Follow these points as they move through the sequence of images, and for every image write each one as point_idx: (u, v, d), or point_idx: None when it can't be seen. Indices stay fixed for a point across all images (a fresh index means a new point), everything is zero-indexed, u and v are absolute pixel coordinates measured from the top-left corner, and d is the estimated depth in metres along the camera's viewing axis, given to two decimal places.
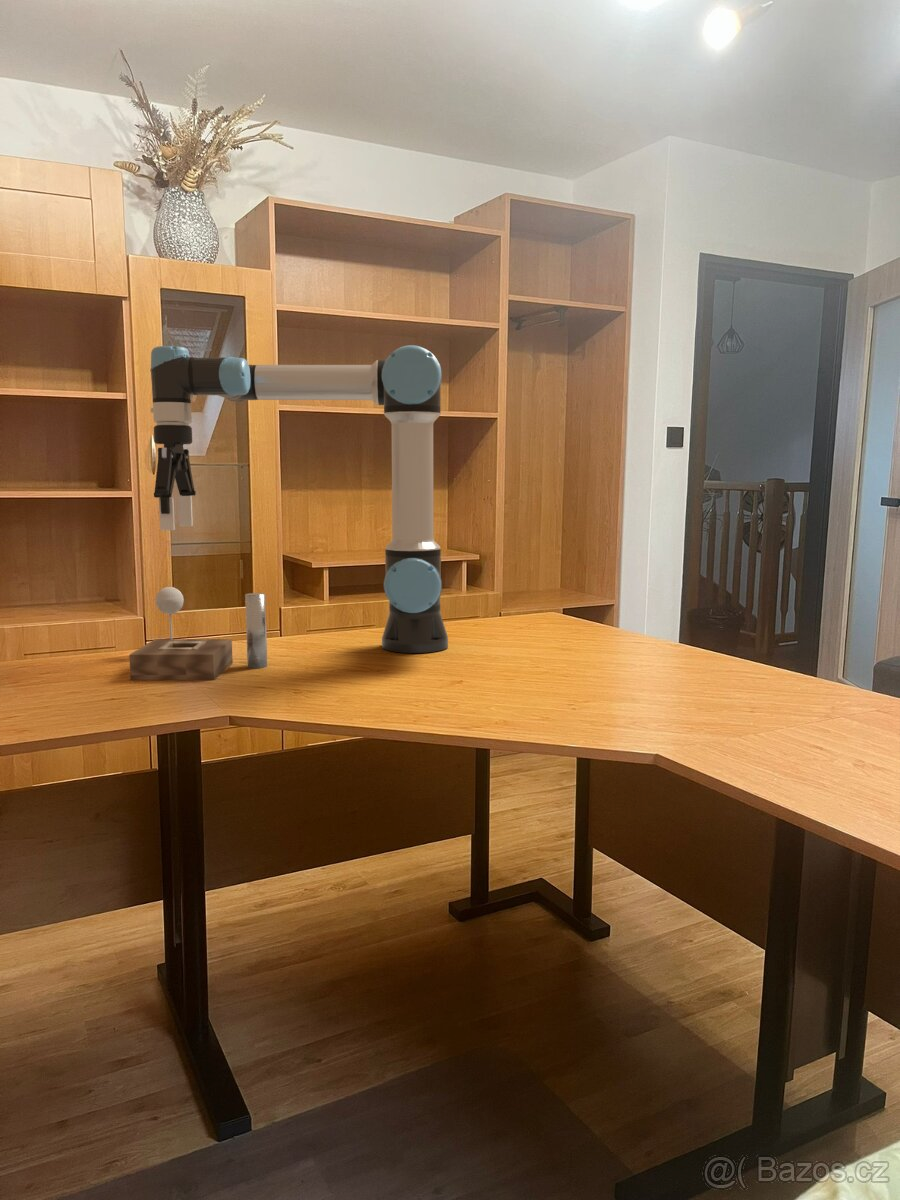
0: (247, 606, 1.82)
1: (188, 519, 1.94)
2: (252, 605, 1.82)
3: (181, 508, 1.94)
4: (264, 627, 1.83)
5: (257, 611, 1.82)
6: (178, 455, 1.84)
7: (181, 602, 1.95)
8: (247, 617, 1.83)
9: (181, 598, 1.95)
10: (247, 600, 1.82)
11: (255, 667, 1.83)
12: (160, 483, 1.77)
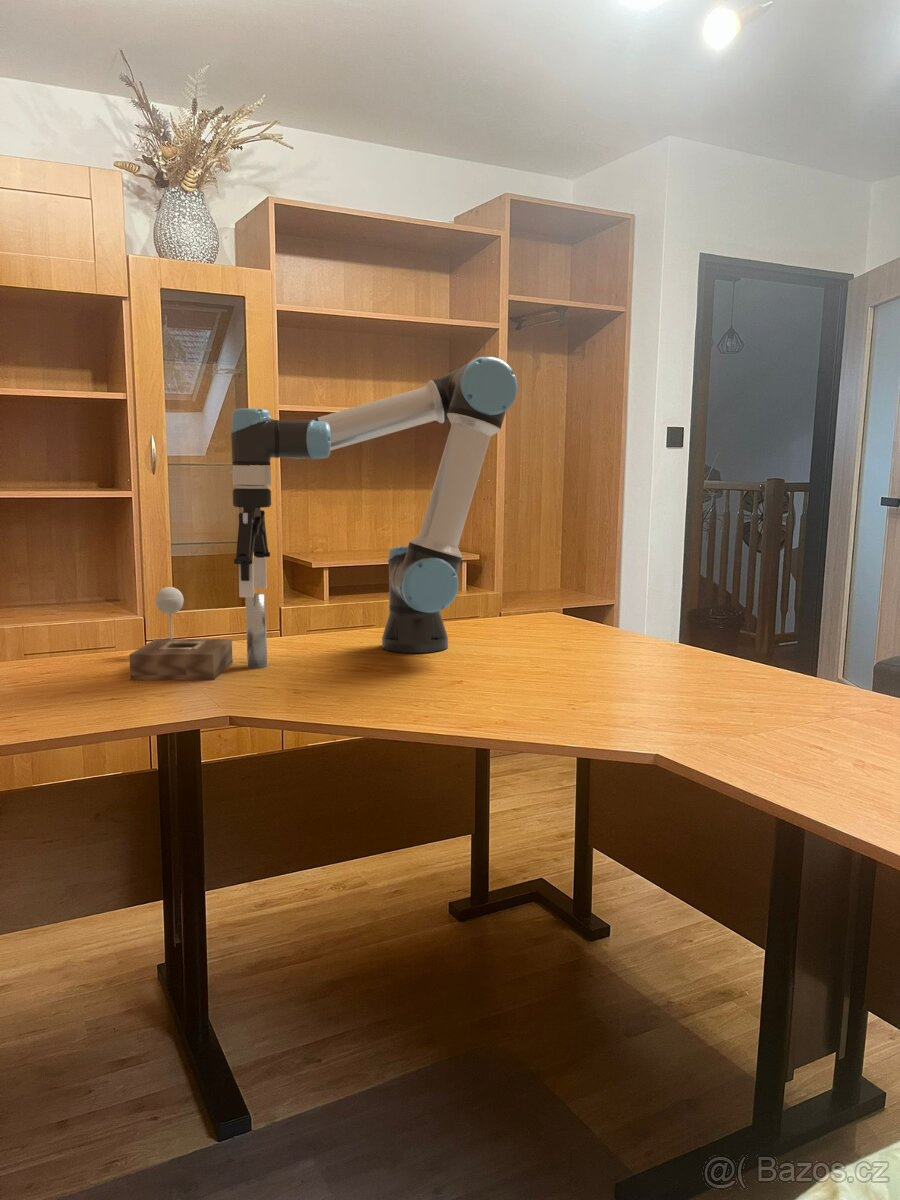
0: (247, 606, 1.82)
1: (262, 581, 1.89)
2: (252, 605, 1.82)
3: (256, 570, 1.89)
4: (264, 627, 1.83)
5: (257, 611, 1.82)
6: (257, 519, 1.79)
7: (181, 602, 1.95)
8: (247, 617, 1.83)
9: (181, 598, 1.95)
10: (247, 600, 1.82)
11: (255, 667, 1.83)
12: (241, 550, 1.72)
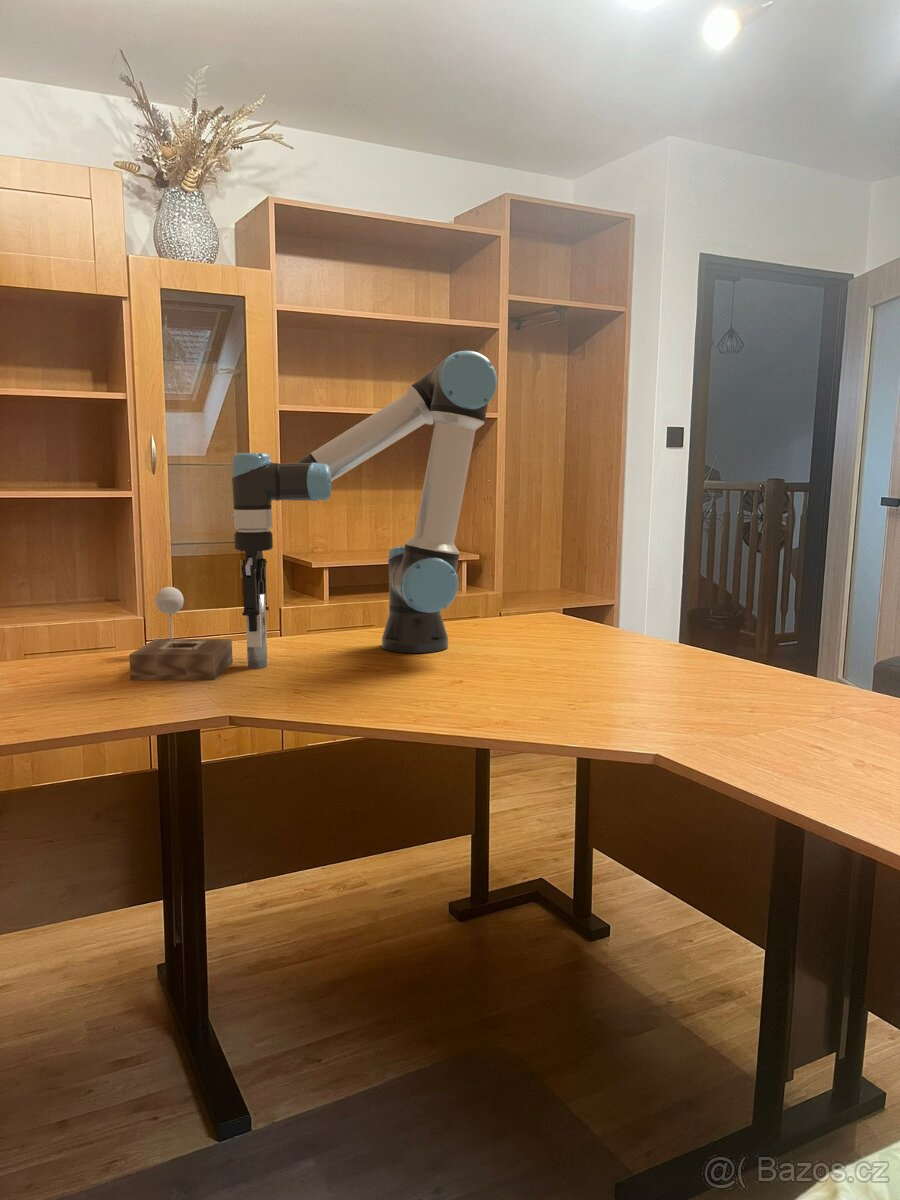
0: None
1: None
2: None
3: None
4: (264, 627, 1.83)
5: None
6: (259, 564, 1.80)
7: (181, 602, 1.95)
8: None
9: (181, 598, 1.95)
10: None
11: (255, 667, 1.83)
12: (248, 604, 1.78)
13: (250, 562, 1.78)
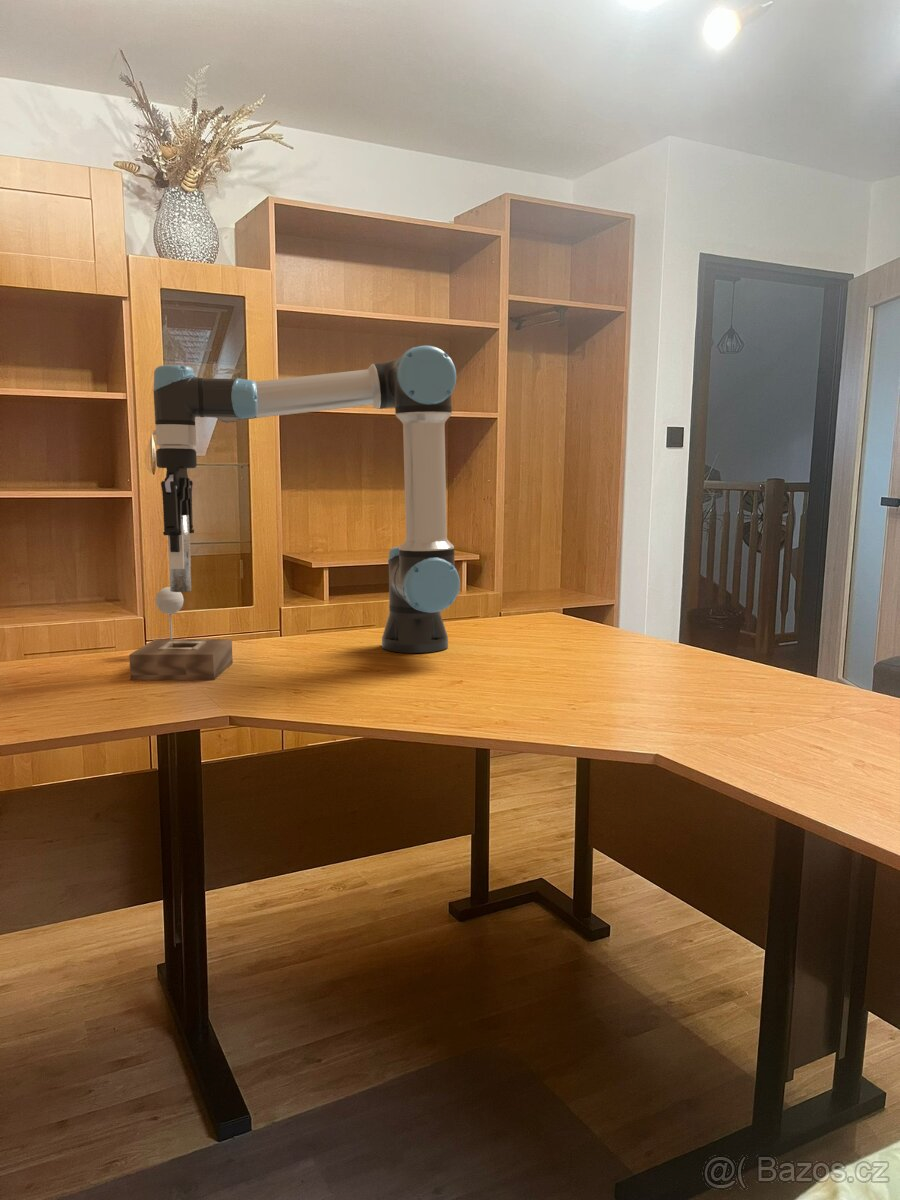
0: None
1: None
2: None
3: None
4: (187, 549, 1.77)
5: None
6: (181, 482, 1.74)
7: (181, 602, 1.95)
8: None
9: (181, 598, 1.95)
10: None
11: (177, 591, 1.77)
12: (169, 522, 1.71)
13: (171, 479, 1.71)
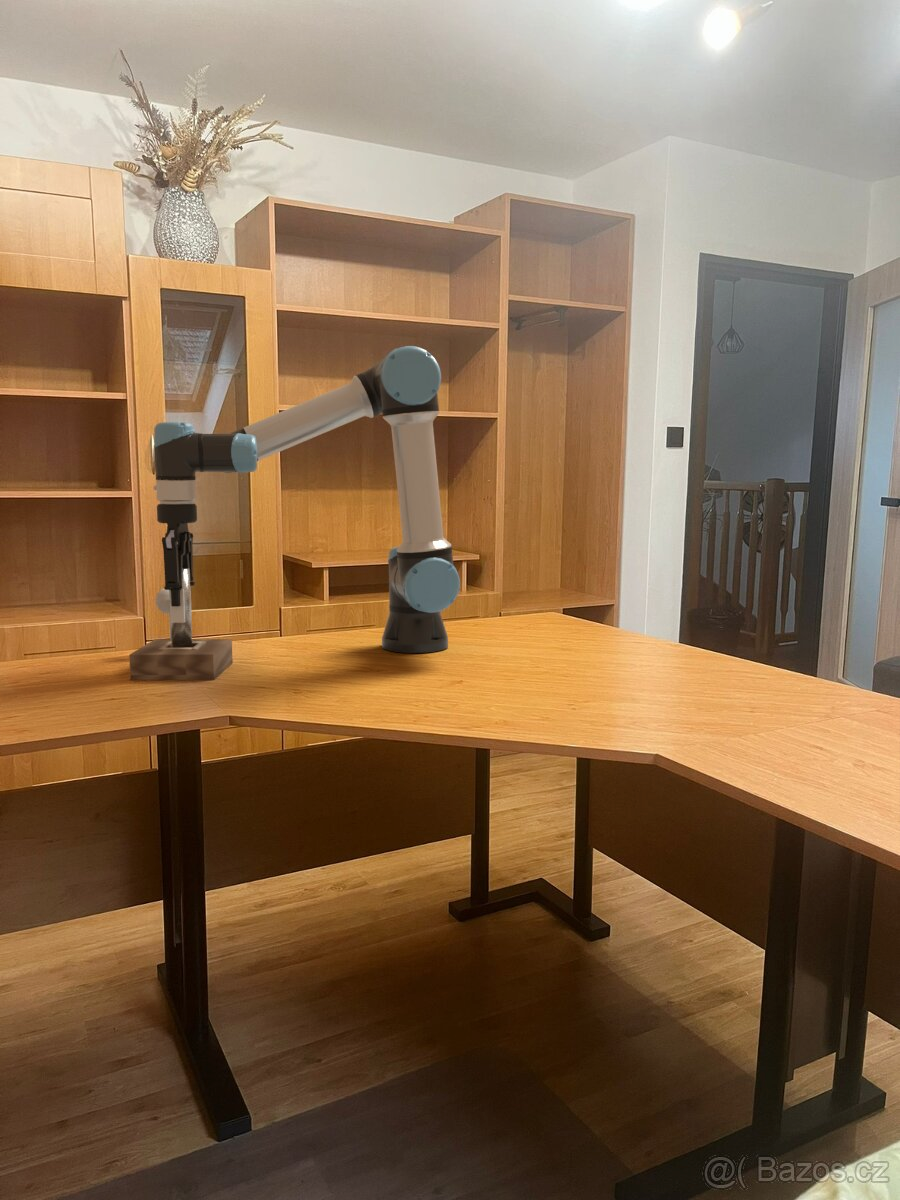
0: None
1: None
2: None
3: None
4: (188, 603, 1.78)
5: None
6: (182, 537, 1.75)
7: None
8: None
9: None
10: None
11: (178, 644, 1.78)
12: (170, 577, 1.73)
13: (171, 534, 1.73)
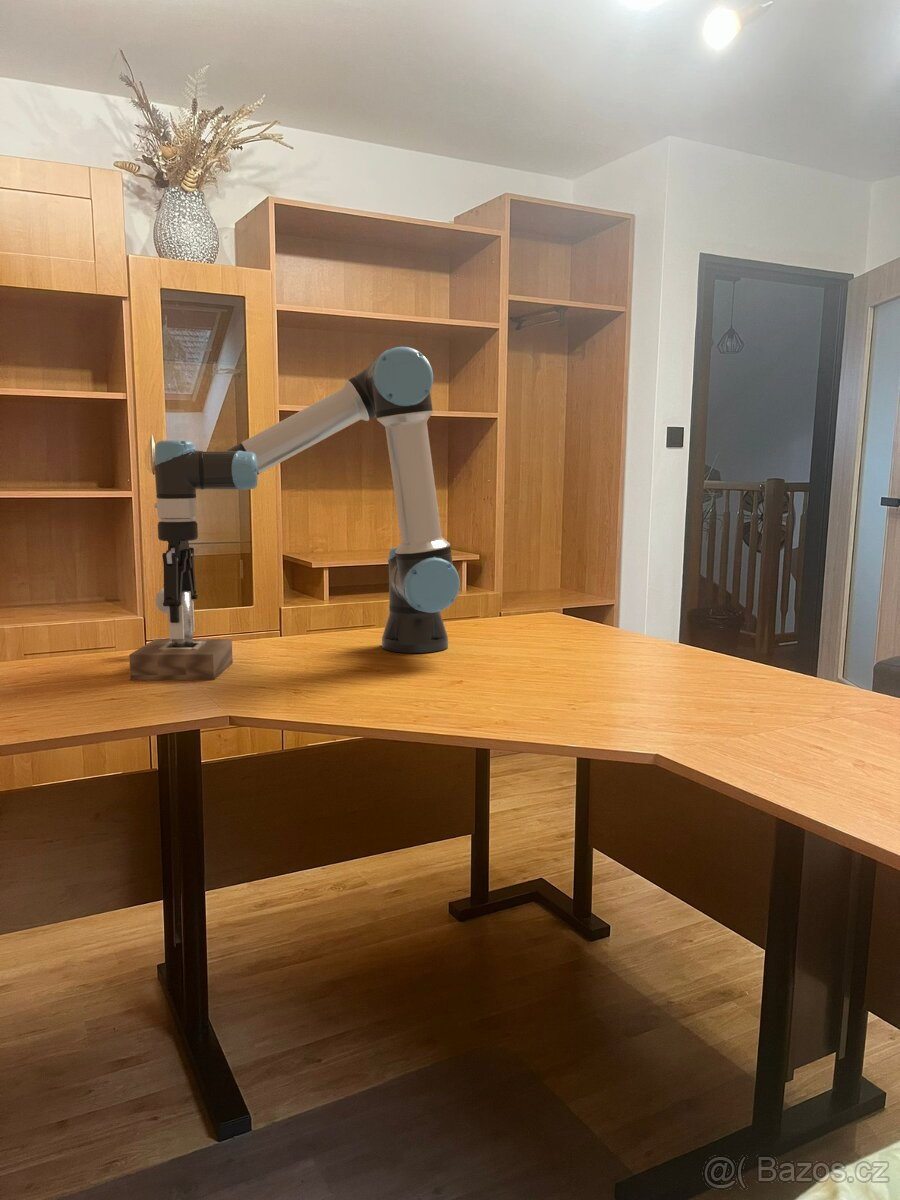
0: None
1: None
2: None
3: None
4: (189, 625, 1.79)
5: None
6: (183, 554, 1.76)
7: None
8: None
9: None
10: None
11: None
12: (169, 593, 1.72)
13: (172, 551, 1.73)
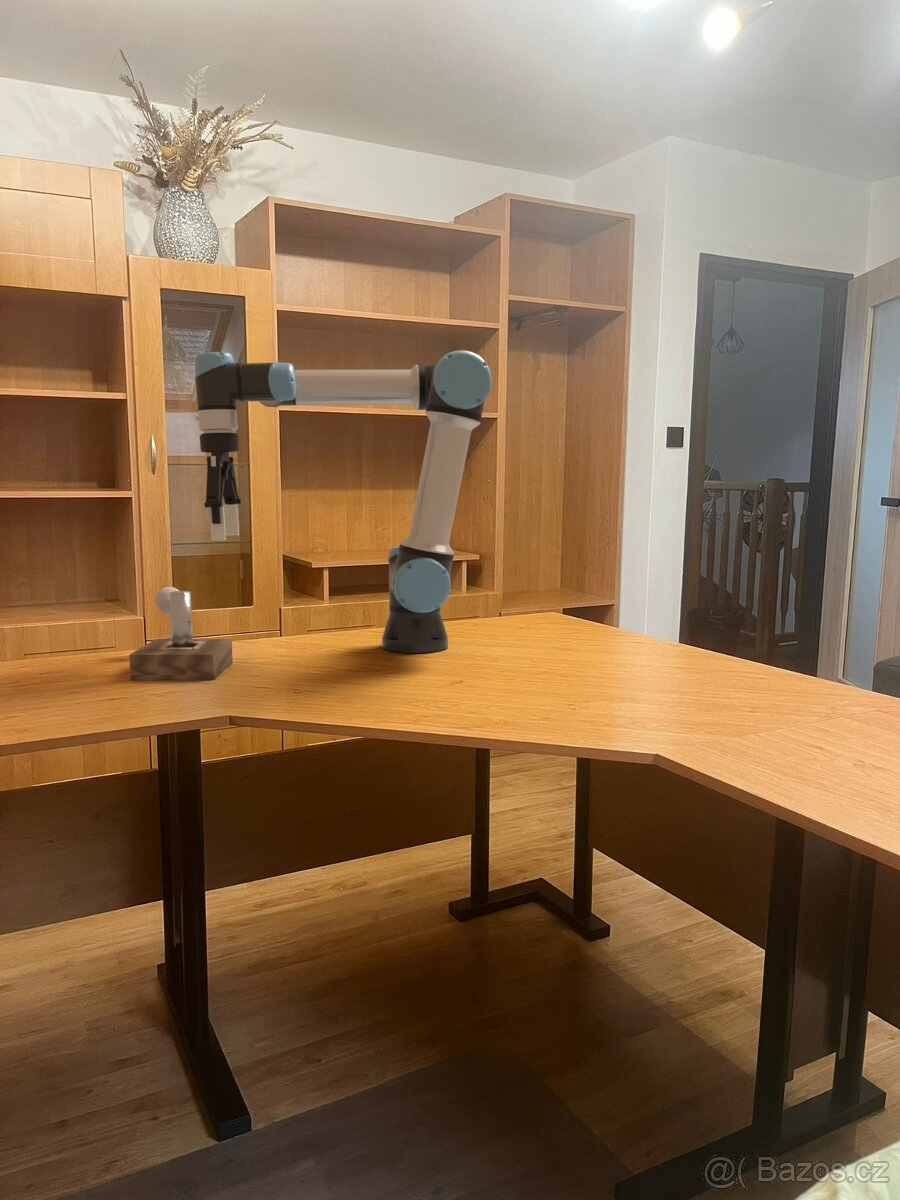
0: (171, 604, 1.78)
1: (235, 528, 1.90)
2: (176, 603, 1.77)
3: (227, 517, 1.90)
4: (189, 626, 1.79)
5: (181, 609, 1.77)
6: (225, 464, 1.80)
7: None
8: (172, 615, 1.78)
9: None
10: (171, 598, 1.78)
11: None
12: (211, 492, 1.73)
13: None
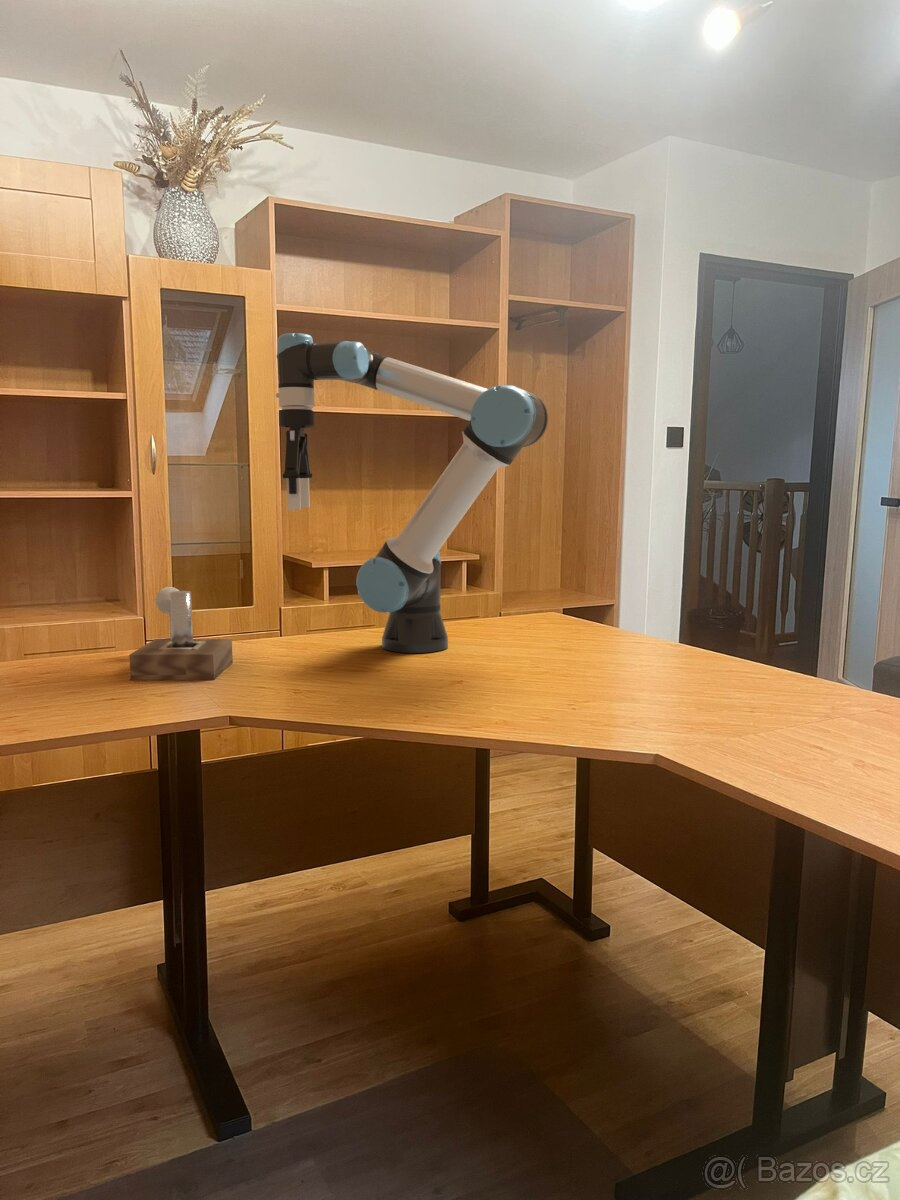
0: (172, 604, 1.78)
1: (306, 500, 2.02)
2: (177, 603, 1.77)
3: (299, 490, 2.02)
4: (190, 626, 1.79)
5: (181, 609, 1.77)
6: (302, 438, 1.92)
7: None
8: (172, 615, 1.78)
9: None
10: (172, 598, 1.77)
11: None
12: (289, 464, 1.85)
13: None
